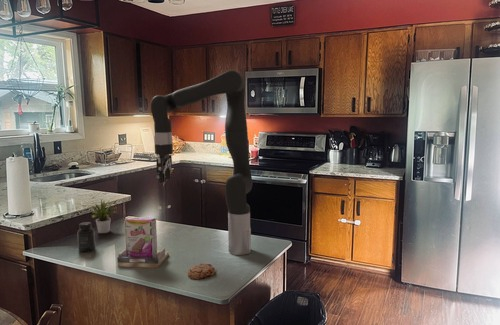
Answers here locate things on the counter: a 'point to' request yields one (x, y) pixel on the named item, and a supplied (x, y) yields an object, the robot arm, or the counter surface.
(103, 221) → the house plant
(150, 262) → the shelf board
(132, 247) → the candy bar box
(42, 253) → the counter surface
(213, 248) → the counter surface
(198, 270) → the cookie
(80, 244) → the supplement bottle
